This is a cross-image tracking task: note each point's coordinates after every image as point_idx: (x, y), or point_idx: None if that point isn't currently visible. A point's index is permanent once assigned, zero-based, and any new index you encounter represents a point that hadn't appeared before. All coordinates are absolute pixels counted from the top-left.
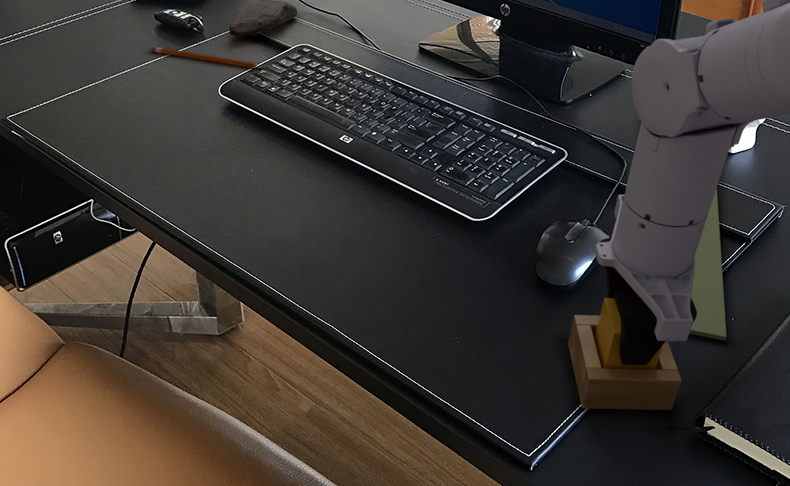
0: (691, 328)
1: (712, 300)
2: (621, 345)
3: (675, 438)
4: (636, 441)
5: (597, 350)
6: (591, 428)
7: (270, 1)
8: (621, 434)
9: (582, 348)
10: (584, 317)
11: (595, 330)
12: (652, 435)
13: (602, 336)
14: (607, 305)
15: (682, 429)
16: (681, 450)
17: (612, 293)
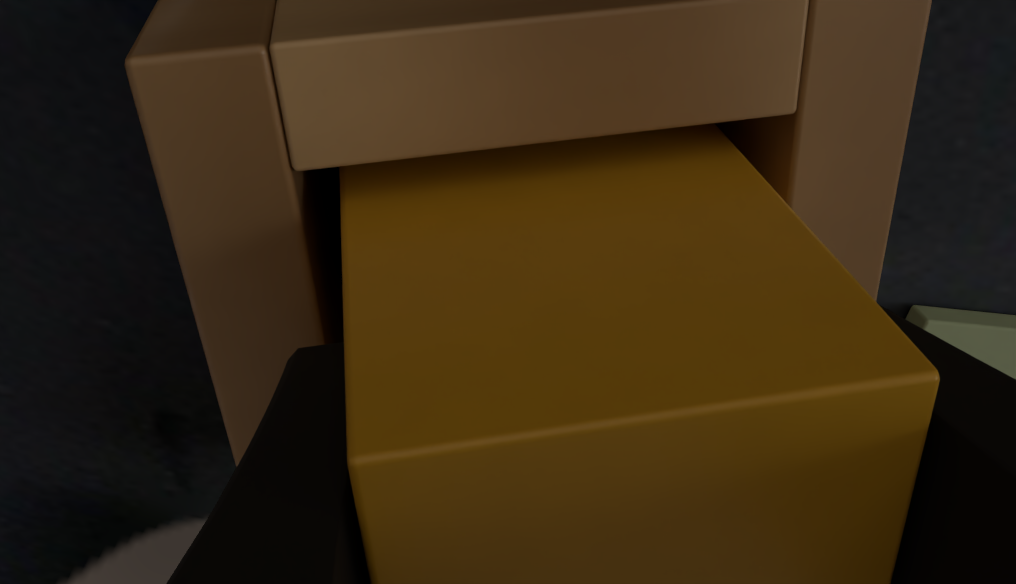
0: None
1: None
2: (260, 472)
3: (100, 445)
4: (5, 271)
5: None
6: (14, 14)
7: None
8: (30, 195)
9: (515, 24)
10: (892, 68)
11: (769, 138)
12: (83, 349)
13: (595, 223)
14: (811, 405)
15: (174, 475)
16: (26, 464)
17: (972, 478)
